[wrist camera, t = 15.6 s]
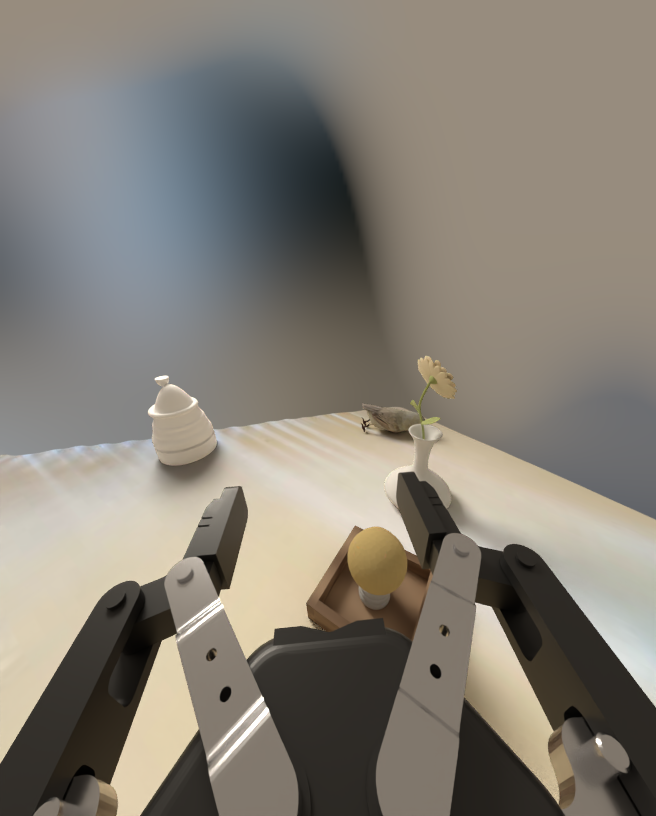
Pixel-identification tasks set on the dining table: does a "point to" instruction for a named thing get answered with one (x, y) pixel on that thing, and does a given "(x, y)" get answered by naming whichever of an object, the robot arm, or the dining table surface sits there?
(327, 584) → the walnut tray
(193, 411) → the honey pot
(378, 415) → the decorative bird
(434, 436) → the flower in vase
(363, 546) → the light bulb
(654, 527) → the dining table surface
